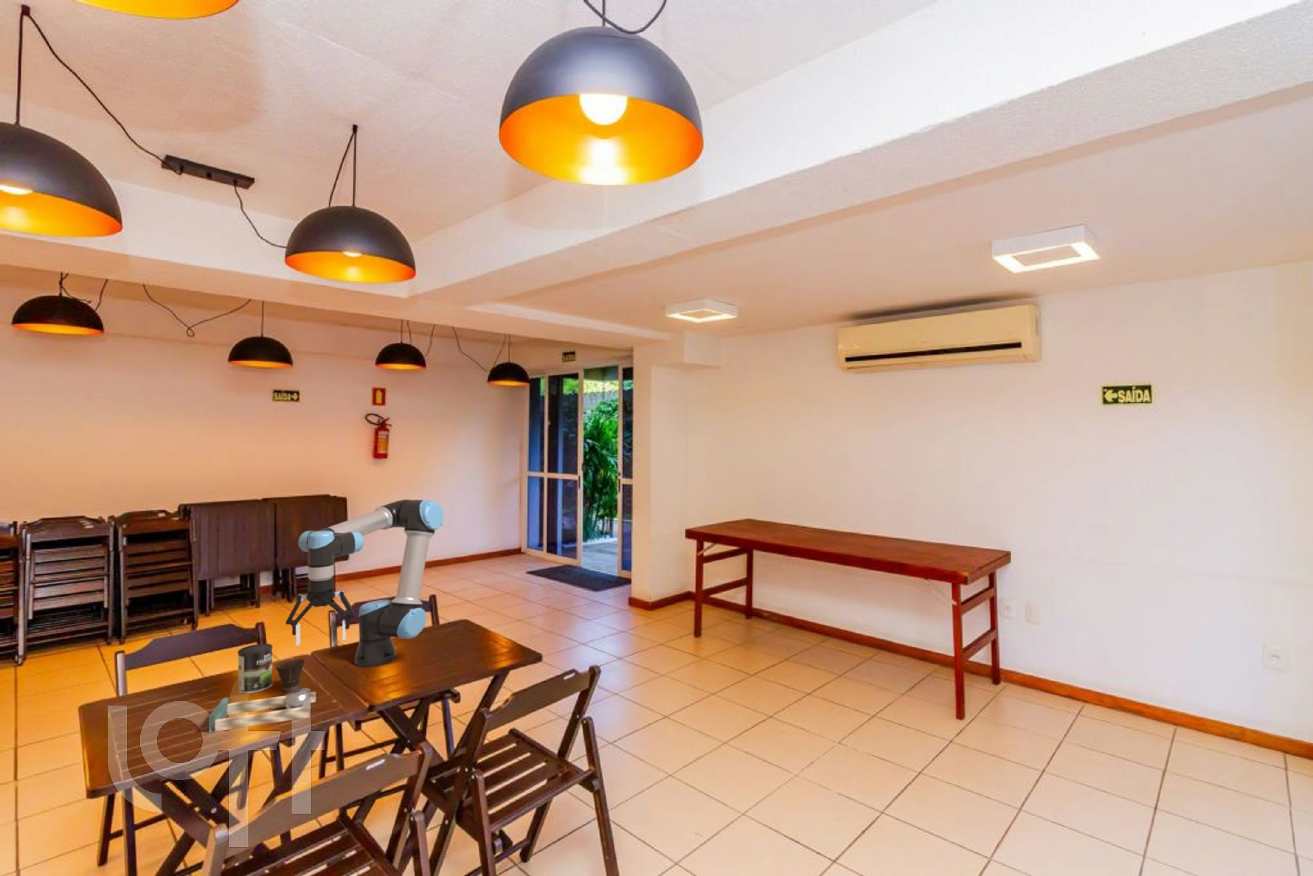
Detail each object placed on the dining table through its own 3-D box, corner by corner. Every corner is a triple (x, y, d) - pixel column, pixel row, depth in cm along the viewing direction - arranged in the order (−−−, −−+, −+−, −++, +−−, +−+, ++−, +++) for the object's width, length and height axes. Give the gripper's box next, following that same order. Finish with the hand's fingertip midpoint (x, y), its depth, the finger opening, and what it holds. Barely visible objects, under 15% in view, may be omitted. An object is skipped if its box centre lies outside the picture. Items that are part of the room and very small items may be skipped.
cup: (265, 691, 209) (269, 662, 210) (289, 685, 217) (293, 656, 218) (283, 696, 206) (288, 666, 207) (307, 689, 214) (310, 660, 215)
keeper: (312, 704, 201) (312, 686, 200) (308, 713, 194) (308, 695, 194) (288, 708, 198) (288, 690, 198) (283, 717, 192) (283, 698, 191)
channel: (315, 700, 204) (315, 685, 204) (308, 717, 191) (308, 701, 191) (223, 713, 194) (222, 698, 194) (209, 732, 182) (209, 716, 182)
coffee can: (279, 682, 218) (279, 644, 218) (255, 695, 208) (255, 654, 208) (256, 680, 220) (255, 642, 220) (230, 692, 210) (230, 652, 210)
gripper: (363, 572, 208) (363, 633, 208) (280, 579, 198) (280, 642, 199) (361, 577, 201) (362, 640, 201) (275, 584, 191) (275, 650, 192)
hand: (321, 641), depth 200 cm, fingers open, 13 cm apart
